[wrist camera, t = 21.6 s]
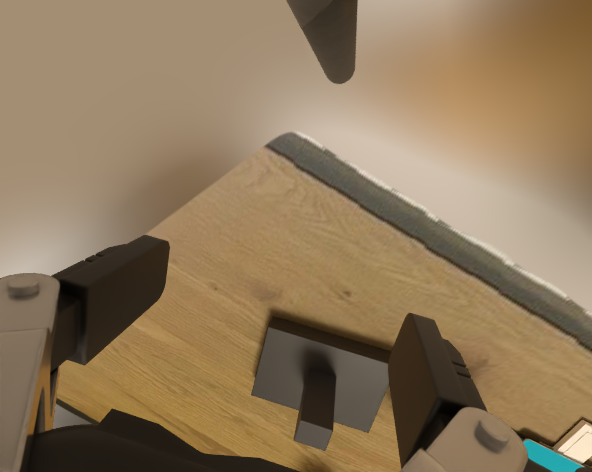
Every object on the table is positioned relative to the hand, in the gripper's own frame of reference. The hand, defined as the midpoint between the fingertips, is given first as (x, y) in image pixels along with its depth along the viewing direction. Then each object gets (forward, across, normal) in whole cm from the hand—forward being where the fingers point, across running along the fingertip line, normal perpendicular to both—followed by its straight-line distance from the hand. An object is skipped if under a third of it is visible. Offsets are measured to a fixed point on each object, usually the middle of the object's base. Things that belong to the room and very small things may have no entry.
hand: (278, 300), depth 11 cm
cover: (+28, -6, +24) cm, 38 cm away
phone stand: (+28, -38, +26) cm, 54 cm away
